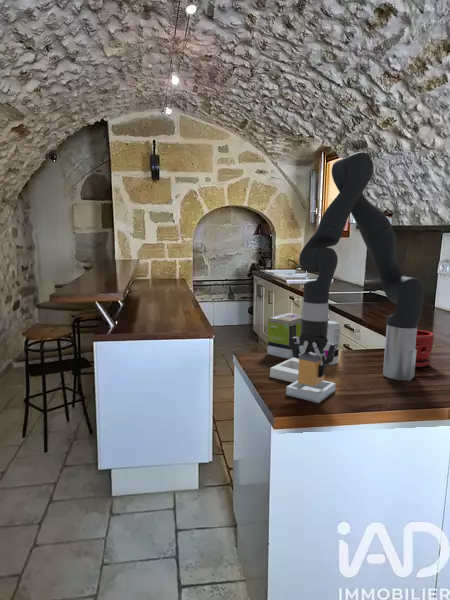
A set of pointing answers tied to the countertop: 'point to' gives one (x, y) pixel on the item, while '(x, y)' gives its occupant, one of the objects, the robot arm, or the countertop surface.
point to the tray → (311, 391)
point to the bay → (286, 370)
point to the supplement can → (333, 339)
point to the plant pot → (423, 347)
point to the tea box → (283, 334)
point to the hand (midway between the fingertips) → (311, 374)
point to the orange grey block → (309, 369)
